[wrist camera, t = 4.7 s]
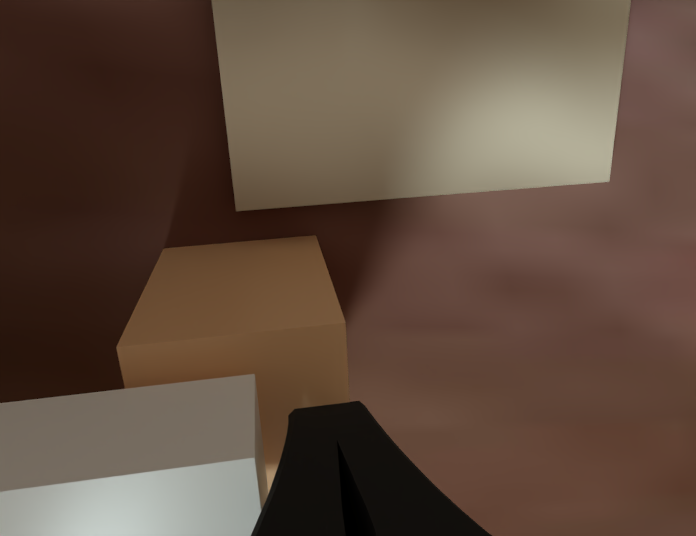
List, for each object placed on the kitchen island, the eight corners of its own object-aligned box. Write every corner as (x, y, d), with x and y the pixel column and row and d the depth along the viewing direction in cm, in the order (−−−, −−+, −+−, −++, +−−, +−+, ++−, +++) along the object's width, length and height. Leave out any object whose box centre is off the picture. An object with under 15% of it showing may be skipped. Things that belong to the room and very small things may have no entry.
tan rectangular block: (324, 364, 17) (354, 497, 12) (186, 380, 16) (154, 526, 11) (315, 234, 15) (345, 322, 10) (163, 248, 15) (116, 347, 10)
